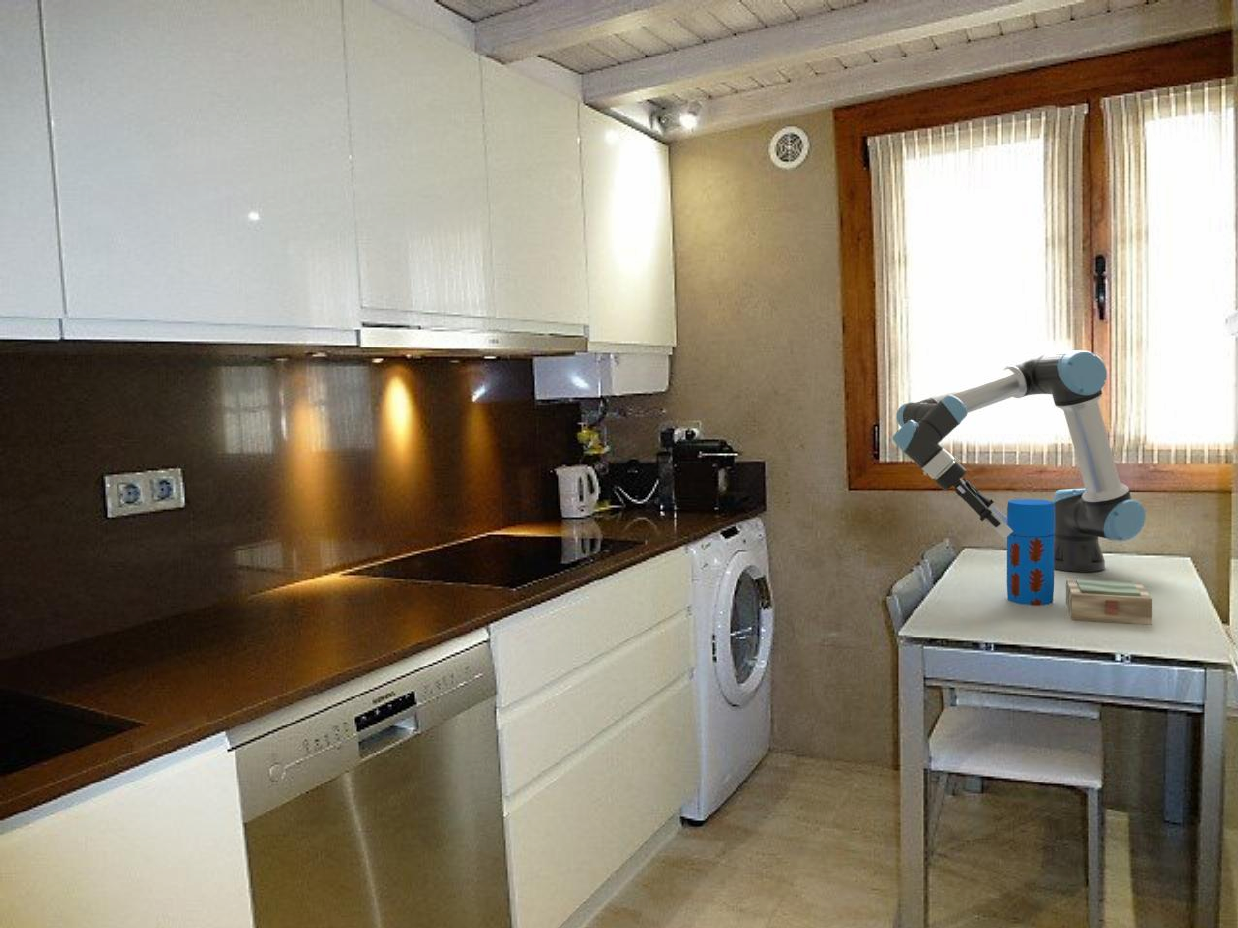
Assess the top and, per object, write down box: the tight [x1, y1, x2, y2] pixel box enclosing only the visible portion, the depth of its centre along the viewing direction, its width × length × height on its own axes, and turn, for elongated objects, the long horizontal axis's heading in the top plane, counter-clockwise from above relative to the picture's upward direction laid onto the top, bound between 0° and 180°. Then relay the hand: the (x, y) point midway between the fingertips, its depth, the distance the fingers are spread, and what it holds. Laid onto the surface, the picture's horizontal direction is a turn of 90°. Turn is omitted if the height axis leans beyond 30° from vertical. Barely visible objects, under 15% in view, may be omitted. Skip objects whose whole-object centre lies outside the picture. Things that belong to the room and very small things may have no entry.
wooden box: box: [1065, 578, 1153, 626], centre depth 208 cm, size 17×16×7 cm
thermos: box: [1006, 498, 1055, 606], centre depth 222 cm, size 11×11×25 cm
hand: (1008, 530), depth 223 cm, fingers open, 13 cm apart
